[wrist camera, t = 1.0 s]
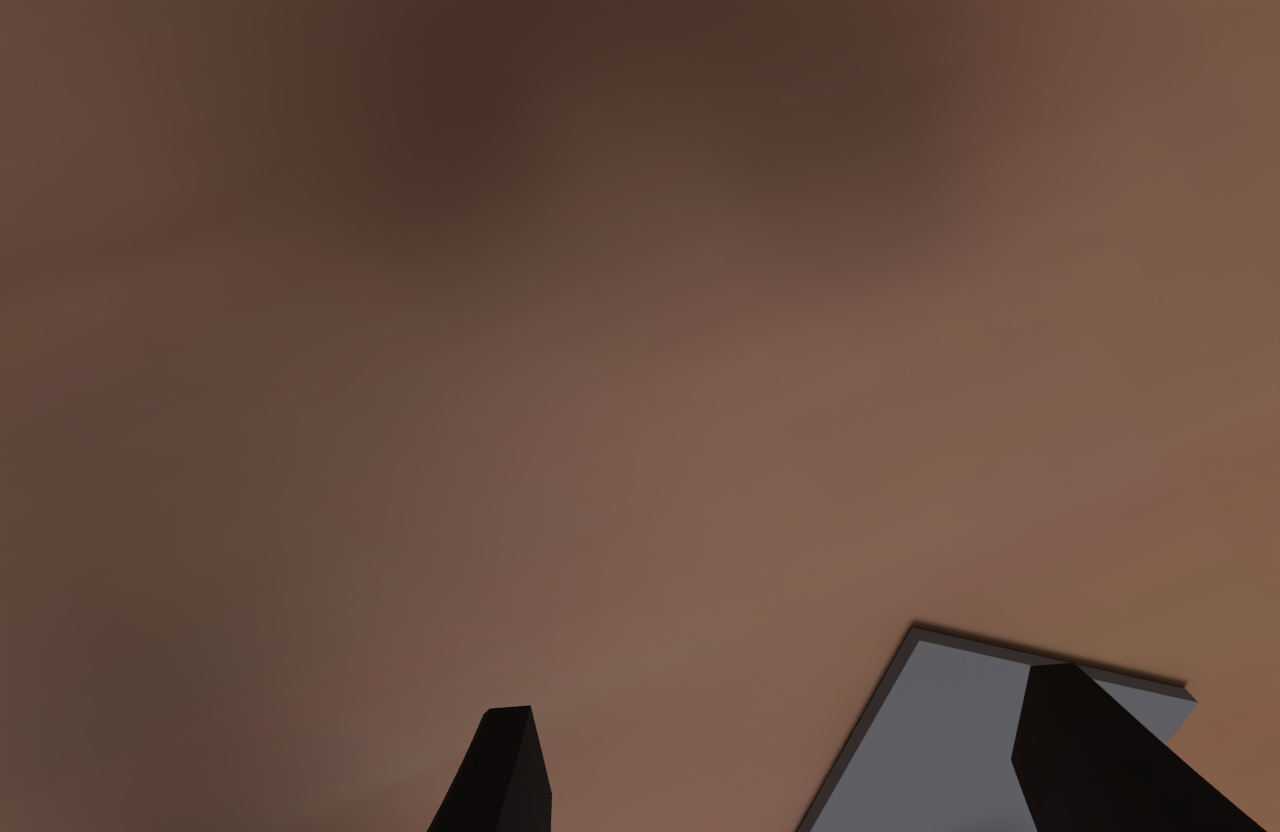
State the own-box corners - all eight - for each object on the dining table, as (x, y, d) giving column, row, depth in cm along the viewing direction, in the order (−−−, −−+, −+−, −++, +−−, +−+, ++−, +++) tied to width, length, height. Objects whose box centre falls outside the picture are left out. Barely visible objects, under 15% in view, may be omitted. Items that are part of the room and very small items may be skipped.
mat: (1009, 918, 30) (1017, 933, 30) (770, 879, 28) (773, 896, 28) (1185, 689, 26) (1198, 702, 25) (912, 627, 24) (919, 640, 23)
